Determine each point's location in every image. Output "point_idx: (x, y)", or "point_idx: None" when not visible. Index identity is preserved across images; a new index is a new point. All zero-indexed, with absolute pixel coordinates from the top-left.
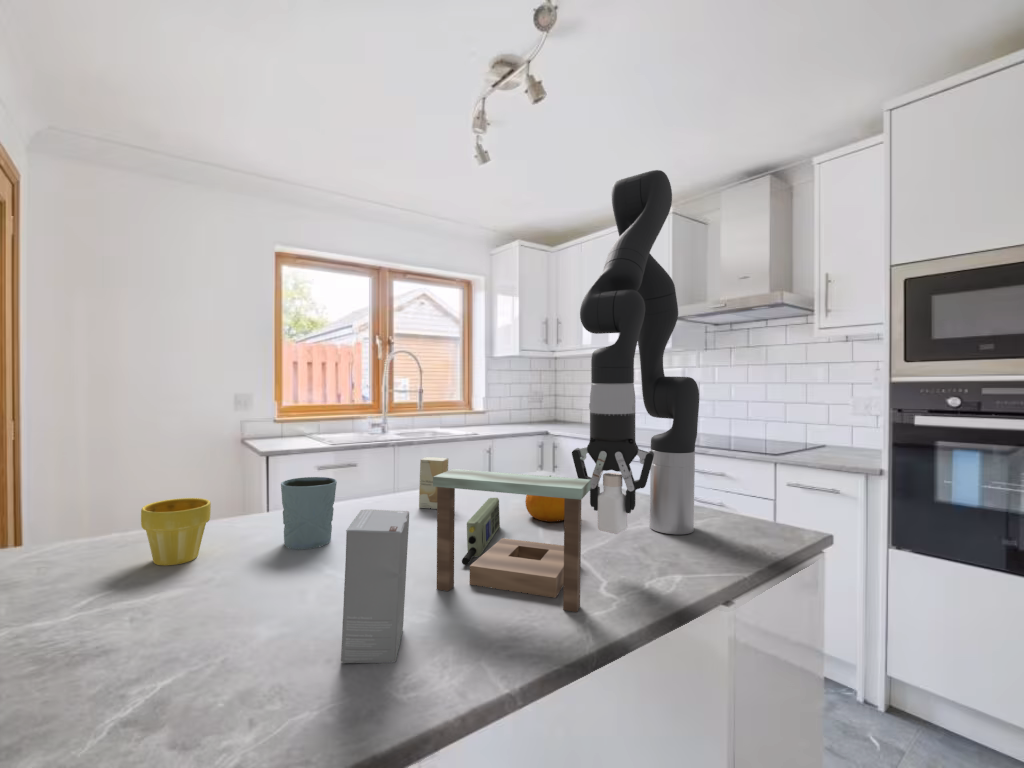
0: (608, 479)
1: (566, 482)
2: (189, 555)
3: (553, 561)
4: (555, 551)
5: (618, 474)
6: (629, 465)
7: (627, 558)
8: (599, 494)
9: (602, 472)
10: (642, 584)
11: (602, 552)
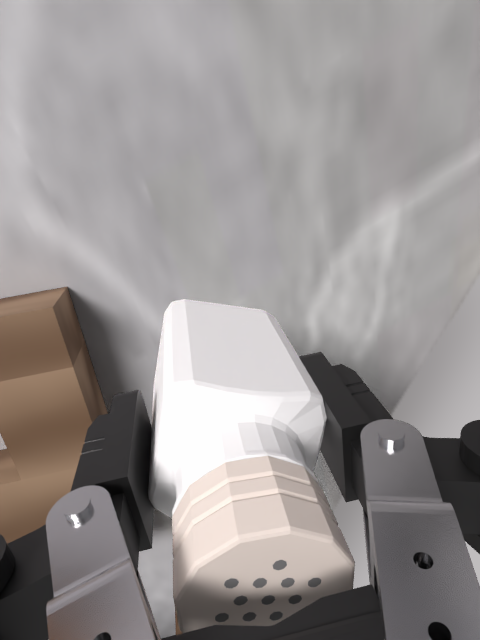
0: None
1: None
2: None
3: (62, 465)
4: (11, 389)
5: (318, 570)
6: (474, 587)
7: (205, 127)
8: (158, 503)
9: (130, 563)
10: (302, 330)
11: (90, 104)
